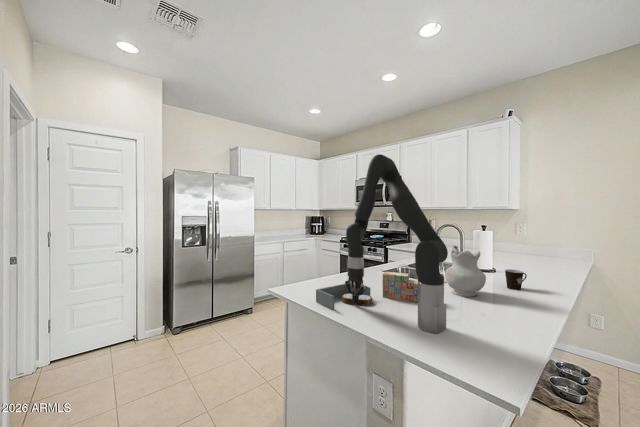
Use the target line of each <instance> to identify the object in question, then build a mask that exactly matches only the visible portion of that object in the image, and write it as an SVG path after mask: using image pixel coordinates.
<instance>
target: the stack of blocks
mask: <svg viewBox="0 0 640 427" xmlns="http://www.w3.org/2000/svg"><path fill="white" fill-rule="evenodd" d="M382 298H385V299H390V300H391V299H392V300H397V301H398V300H400V301H408V302H415V303H418V279H410V274H409V273H406V272H405V273H404V272H393V271H392V272H391V271H384V272H383V273H382Z"/></svg>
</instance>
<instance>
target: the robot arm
mask: <svg viewBox="0 0 640 427" xmlns="http://www.w3.org/2000/svg"><path fill="white" fill-rule="evenodd" d="M380 180H382V181H383V182H384V184H385V185H386V188H387V189H388V191H389V195H390V197H389V198H390V203H391V205H392V208H393V210H394V211H395V213H396V215H397V216H398V218H399V219H400V221H402V223H404V225H405V226H406V227H408V228H409V229H410V230H411V231H412V232H413V233H414V235H416V237H417V238H418V240H419V243H418V244H417V246H416V247H415V250H414V251H415V252H414V253H415V254H414V263H415V274H416V277H417V280H418V302H417V328H419V330H421V331H425V332H429V333H434V334H439V333H443V332H444V331H446V330H447V303H445V275H443V274H441V272H440V264H441V263H444V262H445V261H446V260H447V258H448V256H449V255H448V252H449V251H448V248H447V246H446V244H445V242H444V241H443V240H442V239H441V237H440V236H439V235H438V233H437V232H436V231H435V229H434V228H433V226H432V225H431V223H430V222H429V220H428V218H427V217H426V215H425V213H424V211H423V210H422V208H421V206H420V205H419V202H418V201H417V200H416V198H415V196H414V195H413V194H412V192H411V190H410V189H409V187H408V185H407V184H406V183H405V181H404V179H403V178H402V176H401V174H400V172H399V170H398V167H397V165H396V163H395V161H394V160H393V159H391V157H388V156H386V155H384V154H376V155H374V156H373V157H372V158H370V161H369V163H368V168H367V171H366V176H365V181H364V186H363V189H362V194H361V197H360V199H359V202H358V203H357V206H356V210H355V213H354V217H355V219H354V222H353V223H351V224H348V226H347V228H346V231H345V232H346V234H345V235H346V236H345V237H346V242H347V246H348V250H347V252H348V253H347V255H348V256H347V276H348V277H347V278H348V279H347V280H345V281H344V284H346V286H347V288H348V291H349V293H351V294H352V301H353V303H354V304H353V305H355V304H358V302H359V296H360V295H362V294H363V293H364V291H365V290H366V289H367V287H368V286H367V285H365V284H364V280H363V278H364V276H365V259H364V246H363V245H362V241H361V240H362V239H361V238H363V237H364V236H365V234H366V232H367V230H368V226H369V220H370V218H371V215H372V212H373V210H374V208H375V205H376V204H375V203H376V193H377V188H378V187H377V186H378V184H379V181H380ZM350 288H351V289H350Z"/></svg>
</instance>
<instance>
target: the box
mask: <svg viewBox="0 0 640 427" xmlns="http://www.w3.org/2000/svg"><path fill="white" fill-rule="evenodd" d="M350 289H351V288H350ZM344 294H351V293H349V291H348V288H347V286H346V284H345V283H342V284H337V285H332V286H327V287H322V288H316V289H315V302H316V303H317V304H320V305H322V306H323V307H326V308H328V309H330V310H333V311H334V310H335V299H337V298H342V295H344ZM362 295H369V296H371V287H370V286H367V289H366V290H365V291H364V293H363V294H362Z"/></svg>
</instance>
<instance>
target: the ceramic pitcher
mask: <svg viewBox="0 0 640 427" xmlns="http://www.w3.org/2000/svg"><path fill="white" fill-rule="evenodd" d="M450 255H451V257H450V258H451V263H452V265H451V266H450V267H448V268H447V269H446V270H445V272H444V280H445V282H446V283H447V285H448V286H449V287H450V288H451V289H453V290H452V291H451V293H452V294H455V295H457V296H460V297H462V298H463V297H464V298H471V297H475V296H477V295H478V294H477V292H479V291H481V290H482V289H483V288H484V286H485V284H486V280H487V276H486V273H484V272H483V271H482V270H481V269H480V268H479V267H478V260H479V259H480V257H481V252H480V251H478V252H474V253H472V251H470V250H465V251H464V250H463V251H459V247H458V245H453V246H451V250H450Z"/></svg>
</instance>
